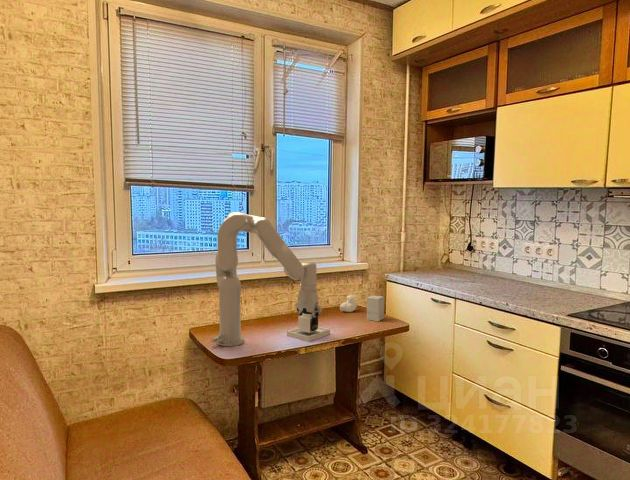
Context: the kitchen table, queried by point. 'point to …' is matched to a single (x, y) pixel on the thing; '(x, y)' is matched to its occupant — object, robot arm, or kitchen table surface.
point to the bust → (349, 304)
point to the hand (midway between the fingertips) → (308, 323)
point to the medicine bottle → (306, 322)
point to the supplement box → (375, 308)
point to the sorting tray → (308, 334)
